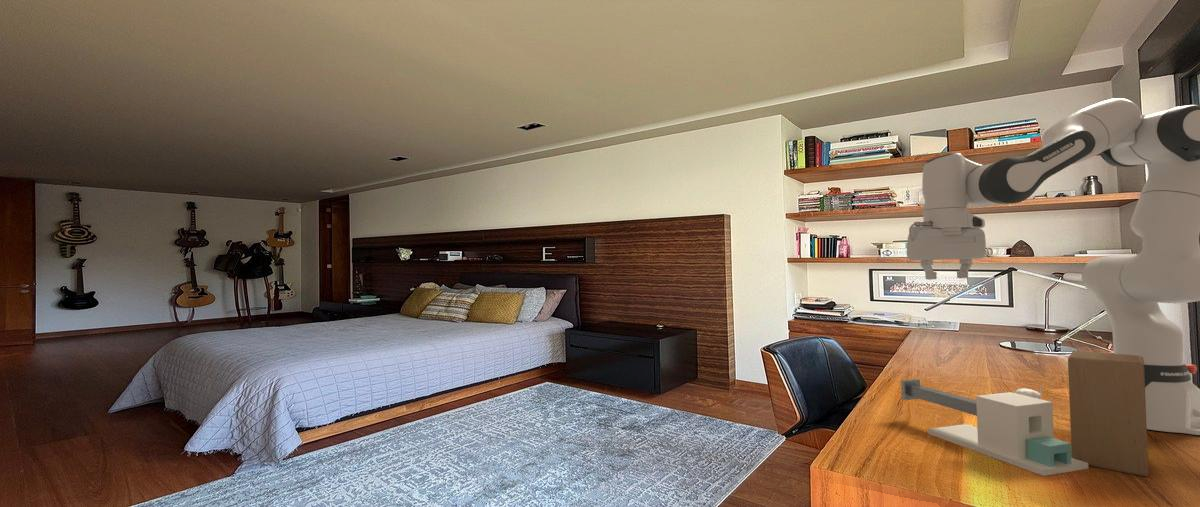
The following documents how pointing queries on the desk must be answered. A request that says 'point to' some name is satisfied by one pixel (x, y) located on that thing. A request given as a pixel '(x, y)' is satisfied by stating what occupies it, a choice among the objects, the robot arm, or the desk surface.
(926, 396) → the shaft
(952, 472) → the desk surface
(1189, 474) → the desk surface
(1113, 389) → the wooden block
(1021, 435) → the bearing block
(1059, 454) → the block
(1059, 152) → the robot arm
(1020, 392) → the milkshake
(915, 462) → the desk surface
